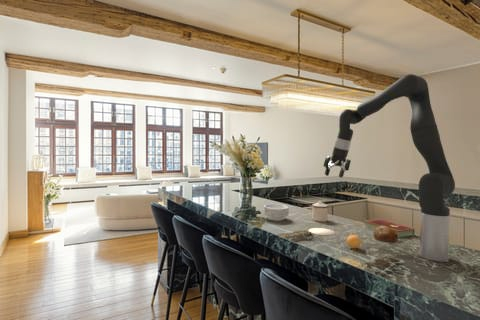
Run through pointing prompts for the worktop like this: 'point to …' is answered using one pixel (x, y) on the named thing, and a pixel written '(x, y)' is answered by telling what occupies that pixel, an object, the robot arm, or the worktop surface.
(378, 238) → the bread roll
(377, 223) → the hardcover book
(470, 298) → the worktop surface
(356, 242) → the ball
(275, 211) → the paper bowls
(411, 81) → the robot arm
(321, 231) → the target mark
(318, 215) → the teacup with lid
